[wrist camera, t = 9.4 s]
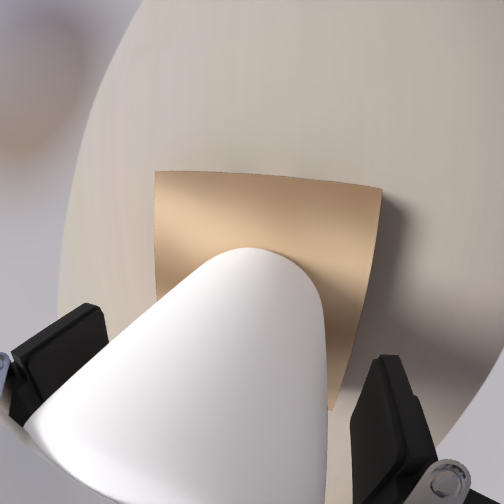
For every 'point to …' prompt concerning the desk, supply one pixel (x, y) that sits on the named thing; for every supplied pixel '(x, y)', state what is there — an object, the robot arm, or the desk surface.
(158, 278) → the dock
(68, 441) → the can
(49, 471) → the robot arm
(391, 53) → the desk surface
